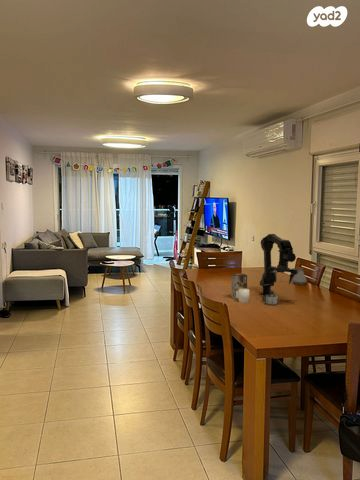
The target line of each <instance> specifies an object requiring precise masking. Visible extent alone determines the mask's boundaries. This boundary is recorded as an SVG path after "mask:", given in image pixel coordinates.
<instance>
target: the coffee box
mask: <svg viewBox="0 0 360 480" xmlns="http://www.w3.org/2000/svg"><path fill="white" fill-rule="evenodd" d="M240 288H246V289H248V275H247V274H246V273H231V288H230V289H231V290H230V291H231V292H230V294H231V296H230V297H231V298H232V299H235V300H238V298H236V291H239V289H240Z"/></svg>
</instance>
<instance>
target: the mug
mask: <svg viewBox="0 0 360 480" xmlns="http://www.w3.org/2000/svg"><path fill="white" fill-rule="evenodd" d="M236 298H238V299H237V301H238V302H239V303H243V304H246V303H250V289H249V288H247V289H246V288H240V289H239V291H236Z"/></svg>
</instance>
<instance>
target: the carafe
mask: <svg viewBox="0 0 360 480" xmlns="http://www.w3.org/2000/svg"><path fill="white" fill-rule="evenodd" d="M278 302H279V295H276V294H273V297H271V294H270V295H262V303H265V305H267V306H277V305H278V304H279V303H278Z"/></svg>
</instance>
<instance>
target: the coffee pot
mask: <svg viewBox="0 0 360 480" xmlns="http://www.w3.org/2000/svg"><path fill="white" fill-rule="evenodd" d="M288 269H291V268H290V267H288ZM295 269H298V270H299V273H298V274H296V275H294V277H293V279H292V281H291V282H292V283H293V284H294V285H297V284H298V285H299V286H302V285H303V284H304V285H305V284H306V283H307V281H308V279H307V277H306V275H305V273H304V269H305V268H304V267H300V266H299V267H298V266H297V267H295Z"/></svg>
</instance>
